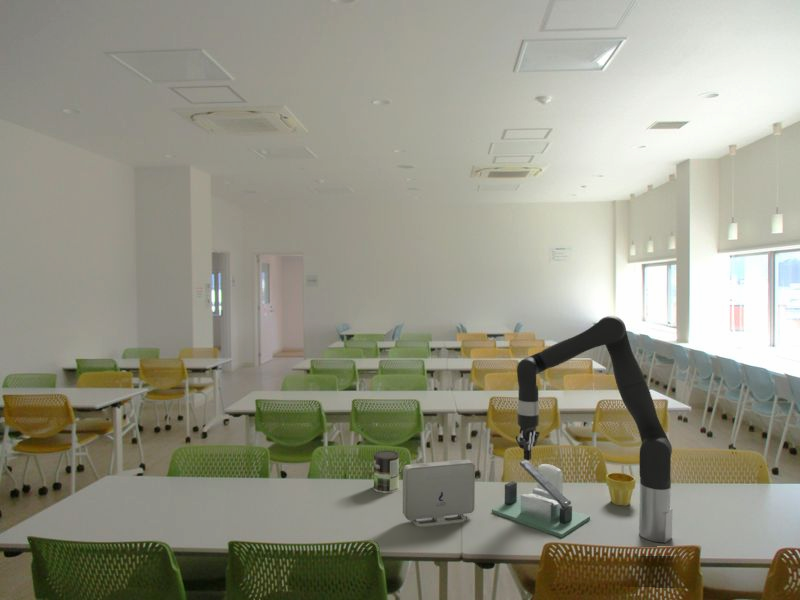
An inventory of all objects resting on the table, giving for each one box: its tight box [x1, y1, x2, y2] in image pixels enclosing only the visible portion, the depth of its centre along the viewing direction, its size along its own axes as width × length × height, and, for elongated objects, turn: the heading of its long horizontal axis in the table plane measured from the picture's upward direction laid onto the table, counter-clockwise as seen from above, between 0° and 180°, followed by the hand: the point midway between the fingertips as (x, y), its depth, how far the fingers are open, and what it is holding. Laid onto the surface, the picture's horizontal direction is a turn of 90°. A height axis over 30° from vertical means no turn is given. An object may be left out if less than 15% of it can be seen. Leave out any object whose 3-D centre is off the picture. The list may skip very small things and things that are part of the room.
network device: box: [402, 459, 476, 528], centre depth 197 cm, size 26×9×20 cm, turn 105°
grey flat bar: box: [519, 459, 572, 508], centre depth 199 cm, size 21×4×1 cm
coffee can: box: [373, 450, 400, 494], centre depth 226 cm, size 10×10×14 cm
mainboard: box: [491, 494, 591, 538], centre depth 200 cm, size 28×20×1 cm
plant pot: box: [605, 472, 636, 506], centre depth 213 cm, size 10×10×10 cm
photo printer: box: [537, 463, 564, 496], centre depth 218 cm, size 10×4×12 cm, turn 39°
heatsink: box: [504, 480, 573, 524], centre depth 201 cm, size 24×10×7 cm, turn 45°
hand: (527, 459), depth 203 cm, fingers closed
